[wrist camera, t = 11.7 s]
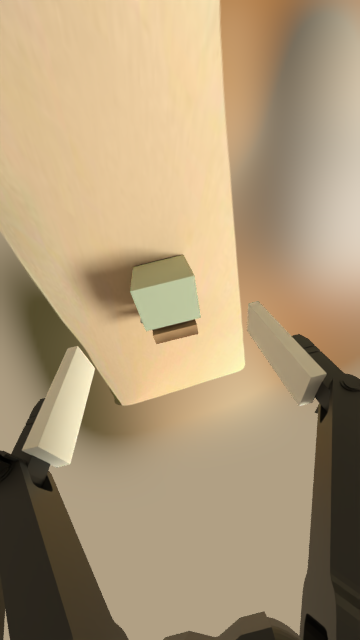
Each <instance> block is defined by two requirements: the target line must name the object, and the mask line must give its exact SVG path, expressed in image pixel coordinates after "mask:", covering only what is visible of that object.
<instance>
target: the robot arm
mask: <svg viewBox="0 0 360 640" xmlns="http://www.w3.org/2000/svg"><path fill="white" fill-rule="evenodd" d="M247 331H248V332H249V334H250V336H251V337H252V338H253V340H254V341H255V342H256V344H257V346H258V347H259V349H260V350H261V352H262V353H263V354H264V356H265V357H266V359H267V360H268V362H269V363H270V365H271V366H272V367H273V369H274V370H275V372H276V373H277V375H278V376H279V378H280V379H281V381H282V382H283V384H284V385H285V386H286V388H287V389H288V391H289V392H290V394H291V395H292V396H293V398H294V400H295V401H296V402H297V404H298V405H299V406H302V405H306V404H309V403H312V402H313V400H314V398H316V399H317V400H318V402H319V405H318V407H317V409H316V411H315V413H318V423H317V438H316V453H315V469H314V484H313V499H312V514H311V529H310V545H309V560H308V570H307V575H306V578H305V582H304V587H303V596H302V610H301V623H300V624H301V625H300V636H299V635H298V634H297V633H295V632H294V631H293V630H292V629H291V628H290V627H288V626H287V625H285V624H284V623H282V622H280V621H278V620H276V619H273V618H269V617H266V614H265V612H261V613H256V614H253V615H249V616H245V617H241V618H239V619H238V620H237V621H236V622H235V623H233V625H231V626H230V627H229V628H228V629H227V630H225V632H223V633H222V634H221V635H220V636H218V637H211V636H207V635H203V634H199V633H195V632H191V631H188V632H184V633H180V634H176V635H172V636H169V637H166V638H164V640H360V379H359V378H357V377H355V376H353V375H350V374H345V373H343V372H342V371H341V370H340V369H339V368H338V367H337V366H336V365H335V364H334V363H333V362H332V361H330V359H328V358H327V357H326V356H325V355H324V354H323V353H322V352H320V350H319V349H318V348H317V347H316V346H314V344H313V343H312V342H311V341H310V340H309V339H307V338H305V337H304V336H302V335H300V334H298V335H294V336H291V335H290V334H289V333H288V332H287V331H286V330H285V329H284V328H283V327H282V326H281V325H280V324H279V323H278V322H277V320H276V319H275V318H274V317H273V316H272V315H271V314H270V313H269V312H268V311H267V310H266V309H265V308H264V307H263V306H262V305H261V304H260V303H259V302H258V301H257V302H253V303H249V304H248V324H247ZM94 370H95V368H94V367H93V365H92V364H91V363H90V361H89V360H88V359H87V357H86V356H85V355H84V354H83V352H82V351H81V349H80V348H79V347H78V346H76V347H72V348H68V349H67V351H66V354H65V356H64V358H63V360H62V362H61V365H60V367H59V369H58V371H57V373H56V376H55V378H54V380H53V382H52V385H51V387H50V389H49V391H48V393H47V396H46V398H44V399H40V401H39V402H38V403H37V404H36V406H35V407H34V408H33V410H32V412H31V414H30V417H29V419H28V421H27V423H26V426H25V427H24V429H23V431H22V433H21V435H20V437H19V439H18V441H17V443H16V445H15V447H14V450H13V452H12V454H9V453H7V452H5V451H0V640H3V635H4V618H5V609H6V616H7V622H8V629H9V636H10V640H128V638H127V636H126V634H125V632H124V631H123V630H122V628H120V627H119V626H118V625H117V624H116V623H115V622H114V620H113V619H112V617H111V615H110V612H109V610H108V608H107V605H106V603H105V600H104V598H103V596H102V593H101V591H100V589H99V587H98V584H97V582H96V579H95V577H94V574H93V572H92V570H91V567H90V565H89V562H88V560H87V558H86V555H85V553H84V551H83V548H82V546H81V544H80V541H79V539H78V536H77V534H76V532H75V529H74V527H73V525H72V522H71V520H70V517H69V515H68V512H67V510H66V508H65V505H64V503H63V501H62V498H61V496H60V493H59V491H58V489H57V486H56V484H55V482H54V479H53V477H52V474H51V473H50V472H49V471H48V470H49V466H50V465H53V466H55V467H60V466H65V465H69V464H70V463H71V459H72V455H73V451H74V448H75V444H76V440H77V436H78V432H79V428H80V424H81V420H82V416H83V413H84V409H85V405H86V401H87V397H88V394H89V389H90V386H91V382H92V378H93V374H94Z"/></svg>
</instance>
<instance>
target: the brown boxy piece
mask: <svg viewBox="0 0 360 640" xmlns="http://www.w3.org/2000/svg"><path fill="white" fill-rule="evenodd" d="M195 334H198V329H197V324H196V321H195V319H194V320H190V321H185V322H181V323H177V324H173V325H169V326H165V327H161V328H157V329H153V336H154V339H155V342H156V344H159V343H163V342H167V341H171V340H175V339H179V338H183V337H187V336H191V335H195Z"/></svg>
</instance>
